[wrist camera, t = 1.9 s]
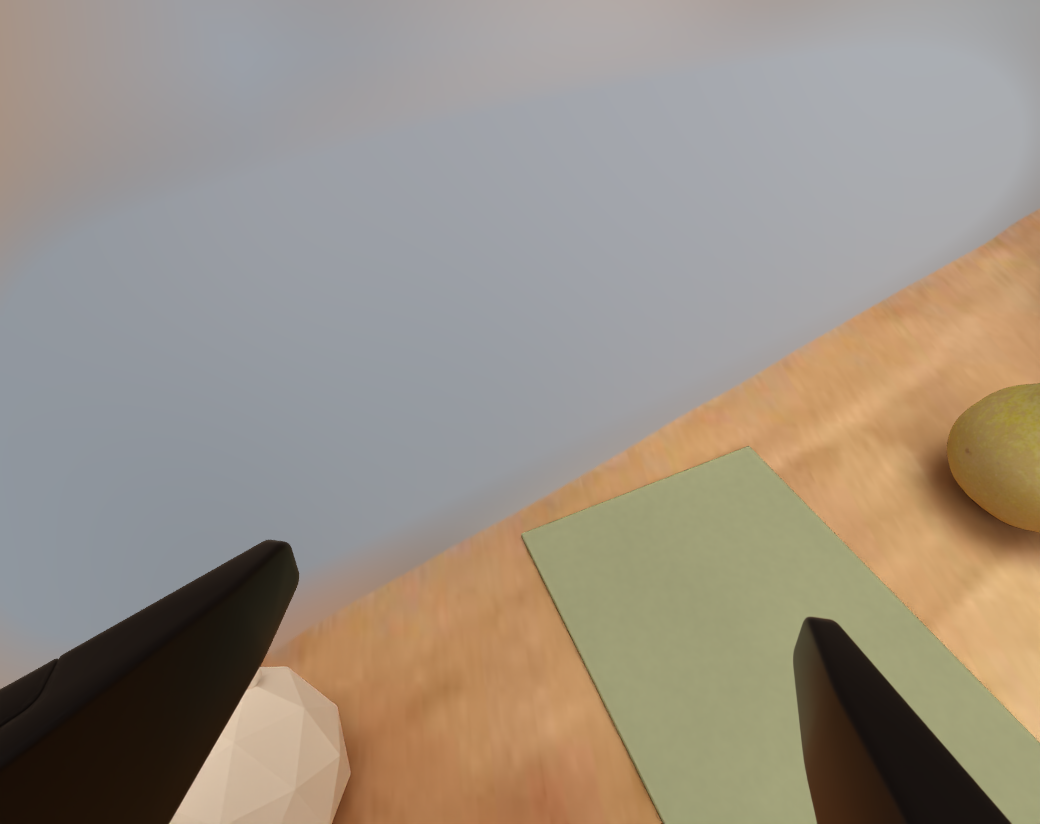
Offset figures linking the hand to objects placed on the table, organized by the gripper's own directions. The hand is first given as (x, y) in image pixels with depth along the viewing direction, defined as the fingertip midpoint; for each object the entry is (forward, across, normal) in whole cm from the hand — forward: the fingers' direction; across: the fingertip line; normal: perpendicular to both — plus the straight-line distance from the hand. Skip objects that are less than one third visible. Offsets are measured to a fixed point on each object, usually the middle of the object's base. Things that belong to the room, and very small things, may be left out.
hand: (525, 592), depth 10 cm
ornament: (+2, +10, +16) cm, 19 cm away
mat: (+10, -8, +14) cm, 19 cm away
